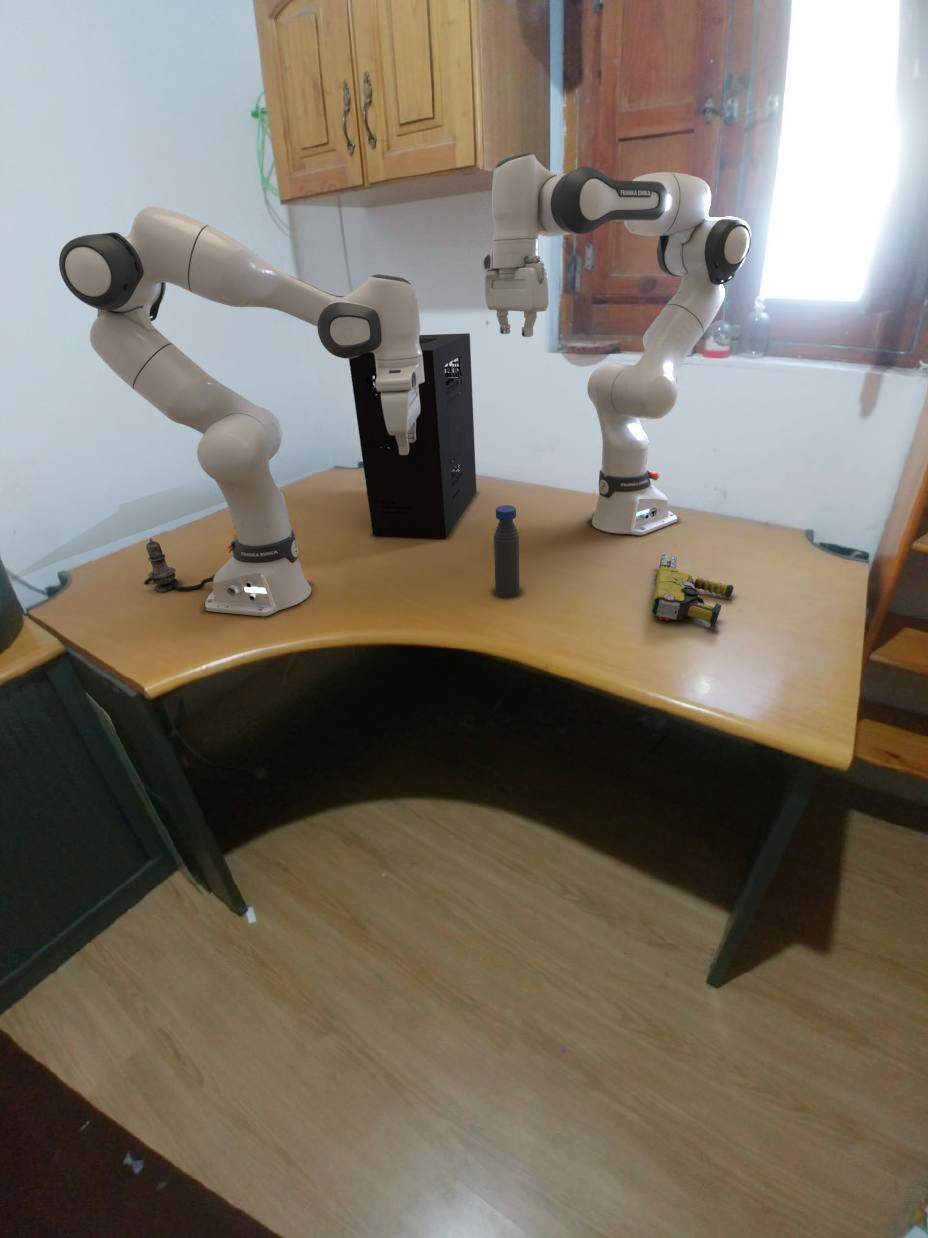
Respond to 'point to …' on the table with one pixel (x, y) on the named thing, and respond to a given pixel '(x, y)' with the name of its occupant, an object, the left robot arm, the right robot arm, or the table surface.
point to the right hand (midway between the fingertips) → (516, 335)
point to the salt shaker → (160, 568)
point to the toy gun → (684, 594)
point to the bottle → (506, 559)
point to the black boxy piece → (420, 444)
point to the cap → (506, 512)
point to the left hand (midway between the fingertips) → (408, 447)
